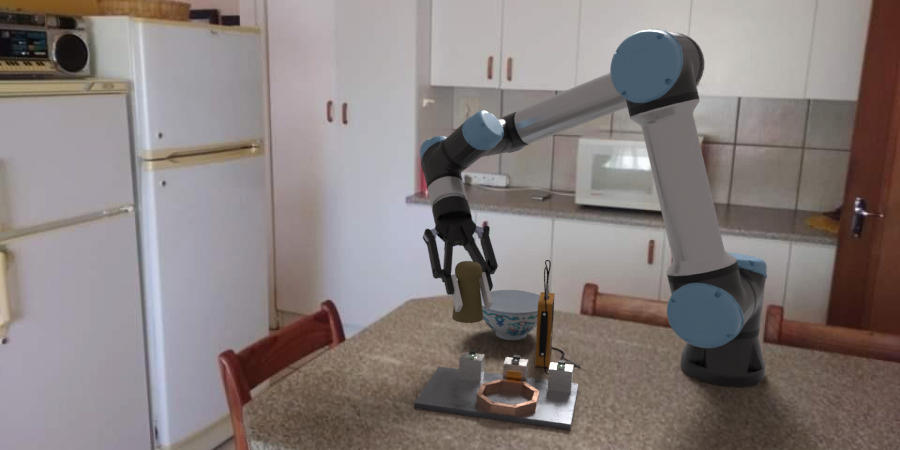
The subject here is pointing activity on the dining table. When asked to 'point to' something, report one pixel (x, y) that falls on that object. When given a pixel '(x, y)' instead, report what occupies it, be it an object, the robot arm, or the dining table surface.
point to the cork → (469, 292)
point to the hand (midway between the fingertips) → (474, 307)
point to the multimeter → (546, 327)
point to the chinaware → (512, 313)
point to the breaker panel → (502, 392)
